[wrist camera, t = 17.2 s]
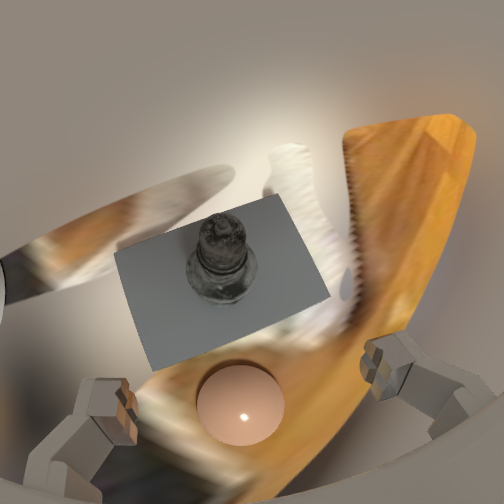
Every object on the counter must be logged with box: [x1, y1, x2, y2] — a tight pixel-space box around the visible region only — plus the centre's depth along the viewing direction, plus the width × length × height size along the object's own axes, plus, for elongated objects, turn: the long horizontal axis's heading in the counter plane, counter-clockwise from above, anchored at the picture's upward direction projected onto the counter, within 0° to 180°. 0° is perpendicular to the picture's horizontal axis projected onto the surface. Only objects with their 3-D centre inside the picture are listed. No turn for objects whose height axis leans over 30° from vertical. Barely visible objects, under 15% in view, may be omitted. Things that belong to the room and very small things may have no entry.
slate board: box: [114, 194, 331, 371], centre depth 28 cm, size 18×12×2 cm, turn 114°
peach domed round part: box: [197, 365, 284, 446], centre depth 25 cm, size 8×8×1 cm
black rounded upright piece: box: [186, 213, 258, 307], centre depth 22 cm, size 6×6×12 cm
